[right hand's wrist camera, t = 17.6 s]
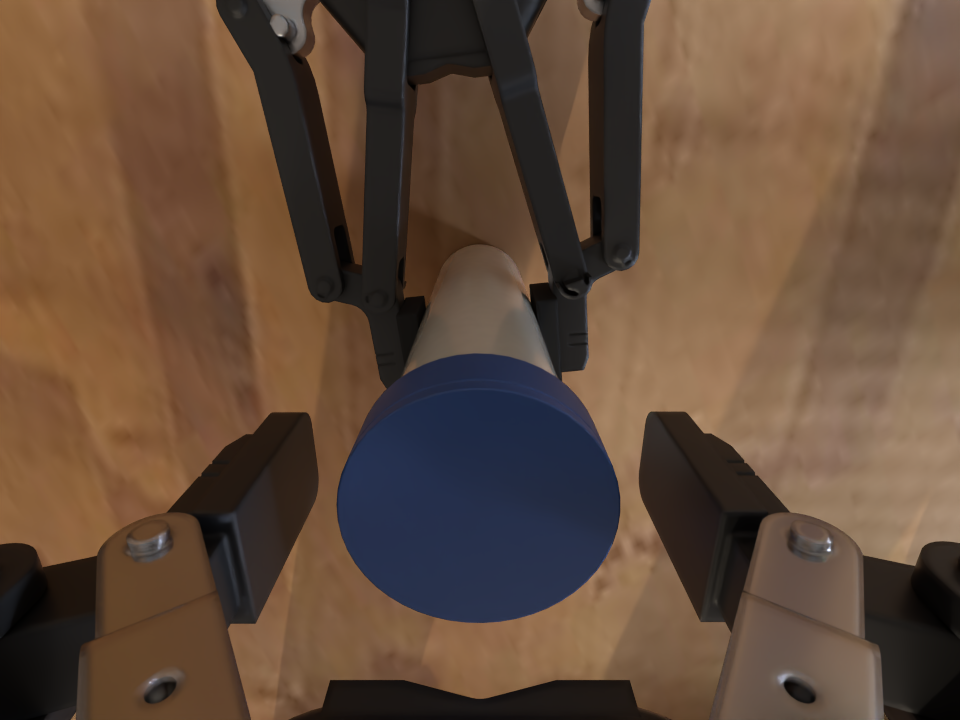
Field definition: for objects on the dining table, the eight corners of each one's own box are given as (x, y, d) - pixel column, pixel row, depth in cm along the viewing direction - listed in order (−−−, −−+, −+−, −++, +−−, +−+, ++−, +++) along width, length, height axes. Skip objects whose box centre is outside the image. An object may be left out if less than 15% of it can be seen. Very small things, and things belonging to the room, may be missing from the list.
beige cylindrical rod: (438, 327, 27) (372, 584, 11) (436, 243, 26) (356, 392, 9) (520, 328, 27) (582, 586, 11) (523, 244, 26) (603, 395, 9)
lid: (542, 585, 12) (551, 651, 10) (330, 522, 11) (306, 582, 10) (642, 401, 10) (672, 445, 9) (399, 314, 10) (383, 345, 8)
